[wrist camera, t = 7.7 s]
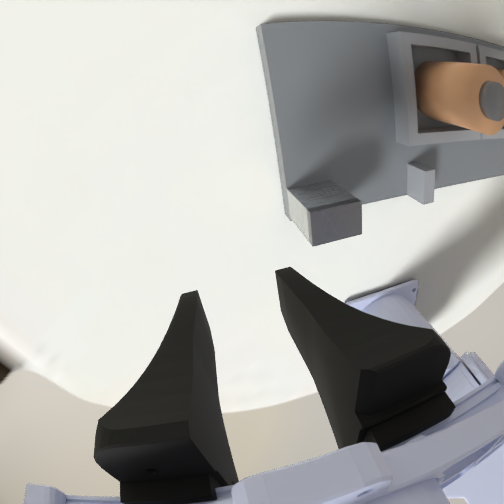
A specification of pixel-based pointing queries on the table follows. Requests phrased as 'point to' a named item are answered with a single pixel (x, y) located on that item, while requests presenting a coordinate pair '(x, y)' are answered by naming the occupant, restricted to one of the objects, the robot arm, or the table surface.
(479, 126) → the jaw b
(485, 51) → the housing
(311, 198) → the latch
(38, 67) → the table surface
